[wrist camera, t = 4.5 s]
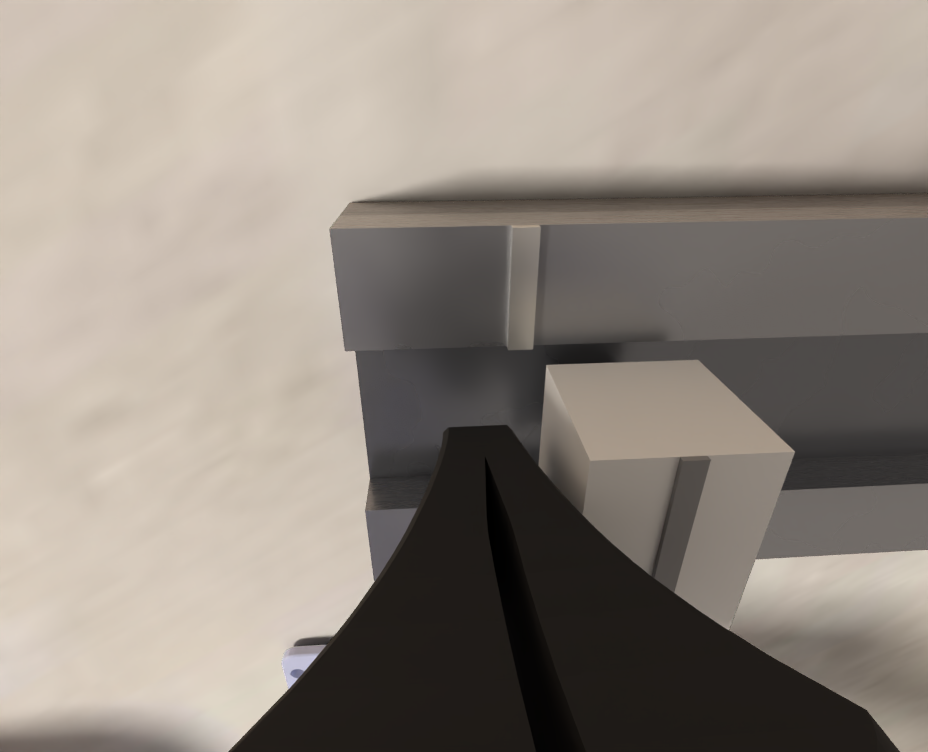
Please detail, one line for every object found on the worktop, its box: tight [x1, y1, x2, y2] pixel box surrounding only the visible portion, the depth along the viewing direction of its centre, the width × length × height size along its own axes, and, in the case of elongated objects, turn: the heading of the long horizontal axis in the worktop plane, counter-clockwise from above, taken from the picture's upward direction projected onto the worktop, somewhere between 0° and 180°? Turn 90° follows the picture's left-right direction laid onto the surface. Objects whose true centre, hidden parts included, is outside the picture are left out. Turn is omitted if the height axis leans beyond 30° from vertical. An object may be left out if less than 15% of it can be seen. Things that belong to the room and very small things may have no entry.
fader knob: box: [538, 360, 795, 630], centre depth 10 cm, size 4×3×5 cm
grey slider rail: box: [330, 193, 928, 581], centre depth 13 cm, size 9×23×3 cm, turn 90°
